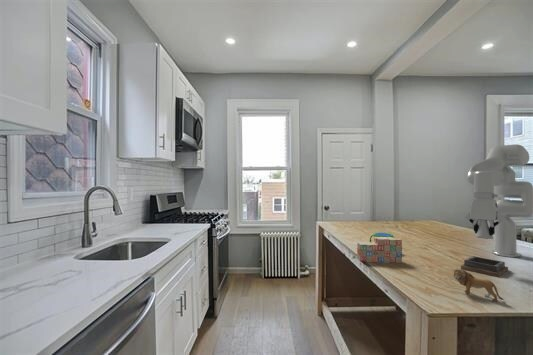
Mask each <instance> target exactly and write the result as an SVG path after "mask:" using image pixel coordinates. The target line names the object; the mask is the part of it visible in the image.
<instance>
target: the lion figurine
mask: <svg viewBox="0 0 533 355" xmlns="http://www.w3.org/2000/svg"><path fill="white" fill-rule="evenodd" d="M452 275H453V278H454V280H456V282H458V283H459V285H461V286H464V287H465V289H464V292H465V293H464V294H465V295H466V294H467V295H466V296H470V294H471V288H475V289H485V291H486V292H487V294H484V297H487V298H489V297H490V296H492V297H493V298H492V302H498V298H499V299H500V300H503V301H504V299H505V298H503V297H501V296H500V294H499V291H498V289H497V286H496V284H495V283H494V282H493V281H491V280H489V279H487V278H486V279H485V278H478V277H475V276H473V274H471V273H470V272H467V270H464V269H461V268H455V269H453V274H452ZM493 288H494V290H493ZM494 291H495V292H494Z"/></svg>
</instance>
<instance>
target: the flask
mask: <svg viewBox="0 0 533 355" xmlns="http://www.w3.org/2000/svg"><path fill="white" fill-rule="evenodd" d="M479 221H480V223H479V228H478V231H477V233H476V234H475V235H474V237H475V238H478V239H484V240H493V239H494V235H492V236H491V235H489V227H490V226H489V222H488V220H479Z"/></svg>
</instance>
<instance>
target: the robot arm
mask: <svg viewBox="0 0 533 355" xmlns="http://www.w3.org/2000/svg"><path fill="white" fill-rule="evenodd" d="M529 161H530V154H529V151H528V150H527V149H526V148H525V147H524V146H523V145H521V144H506V145H505V144H504V145H496V146H493V147H492V148H490V150H489V151H488V154H487V156H486V158H485V159H484V160H481V161H479V162H476V163H475V164H474V165H472V166H471V167H470V169H469V171H468V173H467V174H466V175H467V177H466V181H467V183H468V185H470V186H472V187H473V198H472V200H471V205H470V212H469V213H468V214H467V215H466V216H465V219H466V220H468V221H469V222H470V223H471V224H472V225H473V232H474V234H475V235H476V233H477V231H478V228H479V226H480V224H479V221H481V220H487V222H488V224H489V225H490V226H489V235H491V236H494V249H492V250H491V252H490V253H491V254H493V255H495V256H496V255H497V256H502V257H507V258H520V257H521V254H520V253H519V252H517V251H518V250H517V247H518V246H517V224H516V222H515V221H514V220H513V219H512V218H520V219H521V218H523V219H531V218H532V217H533V184H532V183H531V182H529V181H526V180H525V181H521V180H520V181H517V180H516V172H515V170H513V169H512V167H510V166H524V165H527V164H528V163H529ZM495 193H496V194H495ZM498 197H500V198H509V199H497V200H496V199H495V198H498ZM510 198H512V199H510ZM515 199H517V200H515ZM518 199H521V200H518Z"/></svg>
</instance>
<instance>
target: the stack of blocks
mask: <svg viewBox="0 0 533 355" xmlns="http://www.w3.org/2000/svg"><path fill="white" fill-rule="evenodd" d="M395 237H396V236H394V237H374V236H373V241H371V242H370V241H357V243H356V244H357V245H356V246H357V248H356V249H357V250H356V252H357V253H356V257H357V260H358V261H359V262H361V263H387V264H388V263H391V264H392V263H394V264H402V263H403V240H402V238H399V237H396V238H395Z"/></svg>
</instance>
